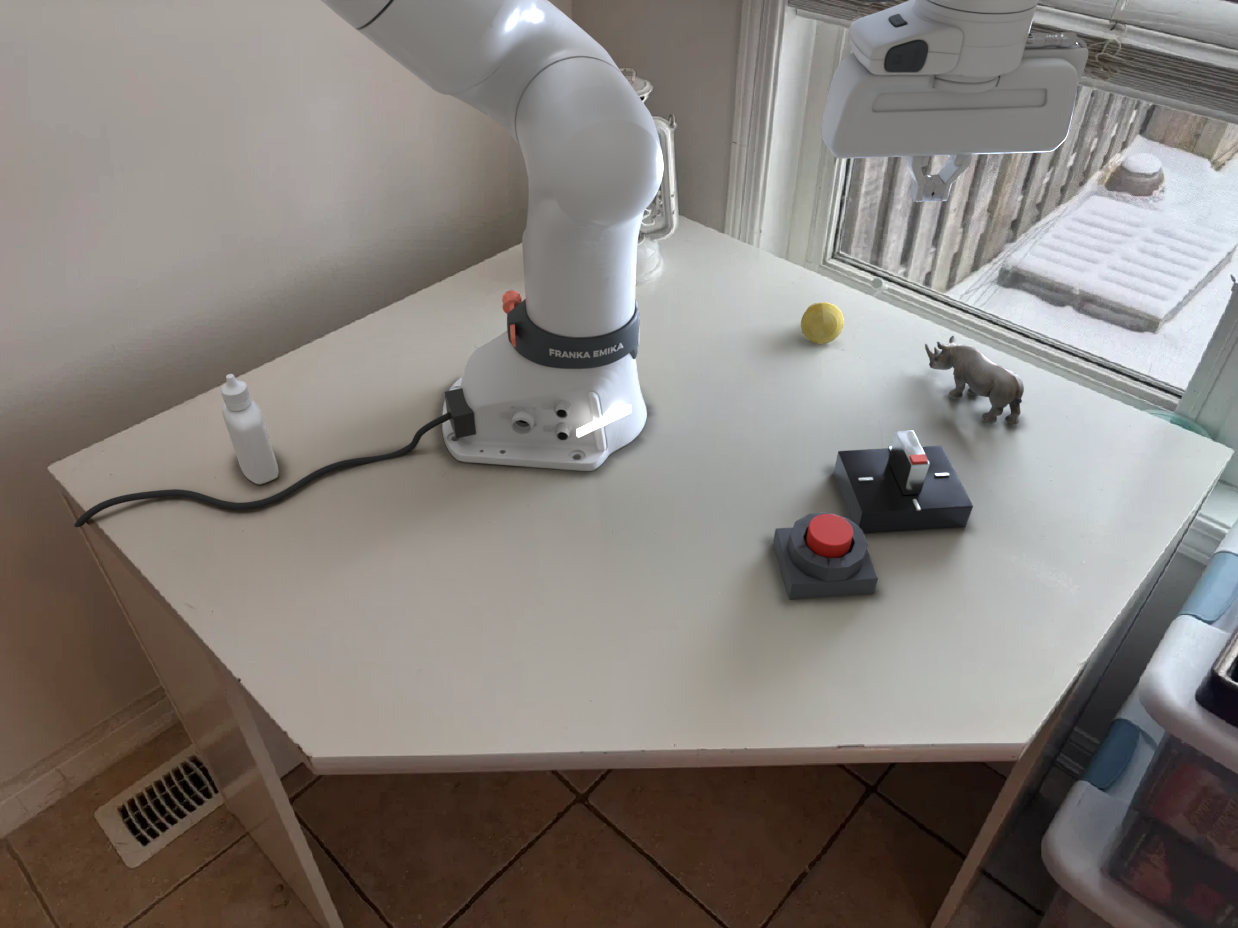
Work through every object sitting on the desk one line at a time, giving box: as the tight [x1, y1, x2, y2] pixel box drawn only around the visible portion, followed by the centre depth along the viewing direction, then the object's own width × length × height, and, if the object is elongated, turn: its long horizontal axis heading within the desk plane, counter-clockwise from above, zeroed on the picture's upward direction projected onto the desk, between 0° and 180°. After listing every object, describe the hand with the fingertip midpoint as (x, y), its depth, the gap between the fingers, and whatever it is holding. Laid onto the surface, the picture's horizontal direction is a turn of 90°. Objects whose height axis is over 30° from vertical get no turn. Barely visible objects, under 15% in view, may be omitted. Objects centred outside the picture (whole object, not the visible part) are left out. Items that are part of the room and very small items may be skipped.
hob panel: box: [833, 444, 974, 535], centre depth 98 cm, size 11×9×3 cm
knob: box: [800, 301, 845, 345], centre depth 118 cm, size 5×5×5 cm
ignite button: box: [806, 513, 853, 558], centre depth 89 cm, size 4×4×2 cm
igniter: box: [772, 512, 879, 600], centre depth 91 cm, size 8×7×4 cm
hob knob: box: [888, 429, 930, 495], centre depth 95 cm, size 5×2×4 cm, turn 6°
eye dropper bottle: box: [220, 373, 279, 485], centre depth 97 cm, size 4×6×12 cm
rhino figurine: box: [924, 335, 1025, 426], centre depth 110 cm, size 4×14×6 cm, turn 33°
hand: (927, 198), depth 85 cm, fingers closed
